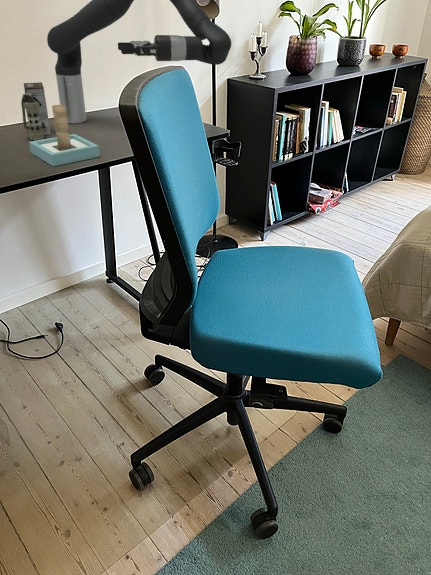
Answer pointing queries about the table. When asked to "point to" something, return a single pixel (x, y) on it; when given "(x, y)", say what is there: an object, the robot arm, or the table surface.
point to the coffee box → (40, 96)
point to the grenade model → (32, 116)
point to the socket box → (54, 157)
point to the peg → (61, 127)
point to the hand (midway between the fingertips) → (119, 48)
